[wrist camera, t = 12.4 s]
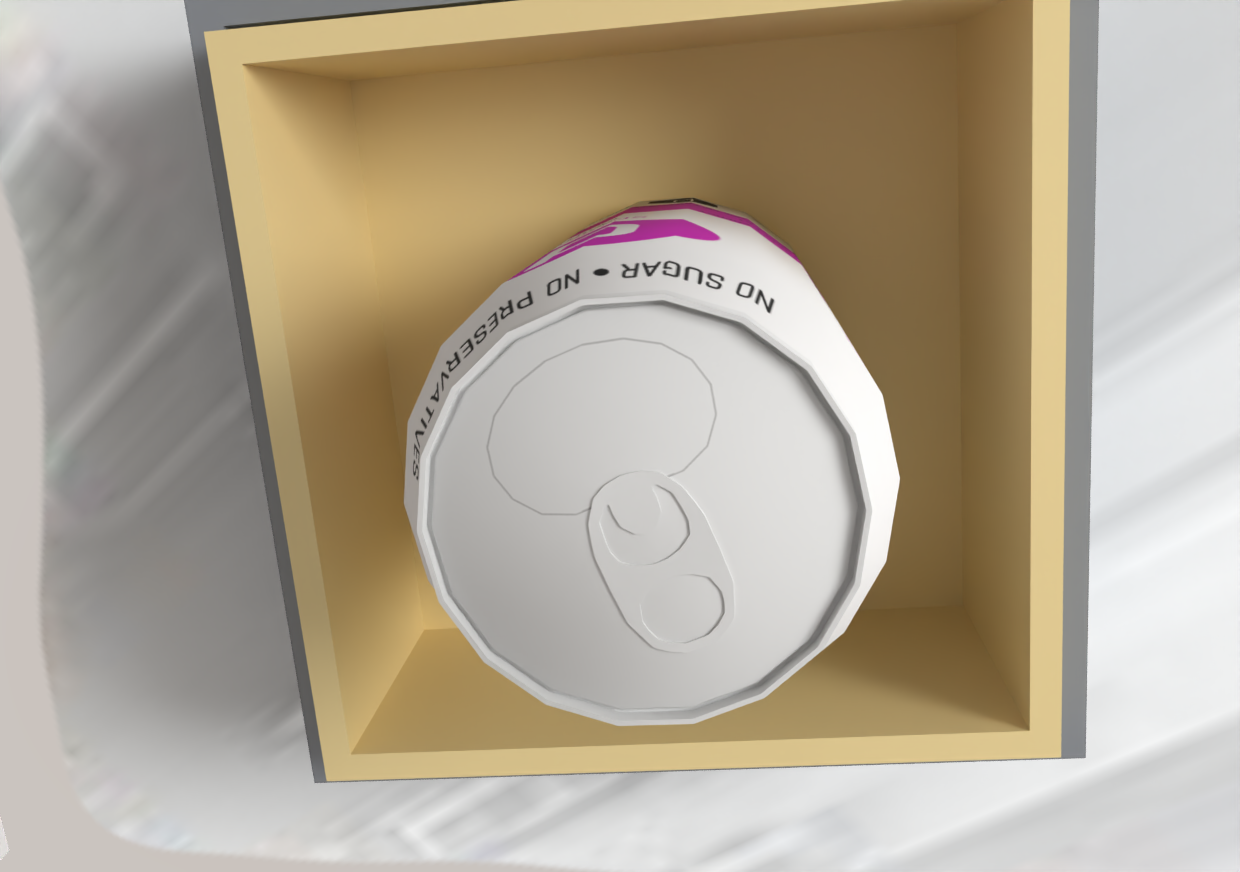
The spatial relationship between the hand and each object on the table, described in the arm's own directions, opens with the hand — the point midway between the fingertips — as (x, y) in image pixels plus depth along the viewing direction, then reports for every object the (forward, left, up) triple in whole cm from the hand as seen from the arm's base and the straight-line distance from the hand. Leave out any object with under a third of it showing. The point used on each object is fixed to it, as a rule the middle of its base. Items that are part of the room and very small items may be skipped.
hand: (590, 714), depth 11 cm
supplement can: (0, 0, -22) cm, 22 cm away
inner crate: (0, 0, -22) cm, 22 cm away
